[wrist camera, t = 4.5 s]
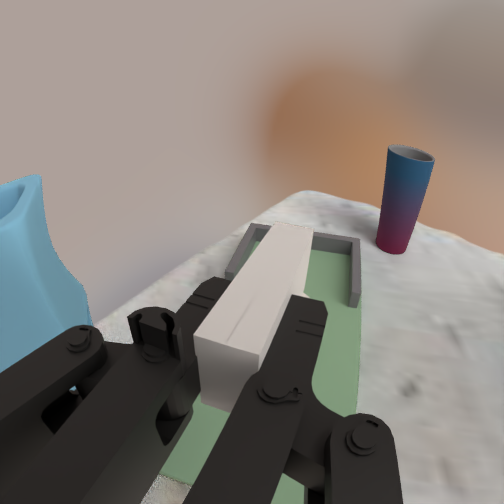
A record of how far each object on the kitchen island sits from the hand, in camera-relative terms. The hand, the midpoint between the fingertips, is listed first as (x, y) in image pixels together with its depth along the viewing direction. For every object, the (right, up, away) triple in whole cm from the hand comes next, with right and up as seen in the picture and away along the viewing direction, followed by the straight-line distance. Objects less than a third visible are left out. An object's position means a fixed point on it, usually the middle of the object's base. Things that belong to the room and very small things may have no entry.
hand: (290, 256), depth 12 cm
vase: (-17, -14, +12) cm, 25 cm away
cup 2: (+20, +1, +33) cm, 39 cm away
